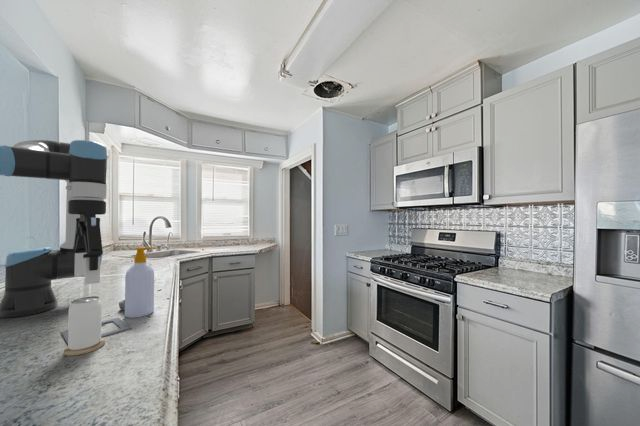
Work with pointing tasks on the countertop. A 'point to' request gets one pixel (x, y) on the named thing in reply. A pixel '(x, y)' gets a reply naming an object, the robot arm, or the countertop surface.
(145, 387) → the countertop surface
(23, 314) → the robot arm
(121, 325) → the frame
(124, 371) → the countertop surface
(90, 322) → the can
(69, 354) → the coaster
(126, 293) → the soap bottle
